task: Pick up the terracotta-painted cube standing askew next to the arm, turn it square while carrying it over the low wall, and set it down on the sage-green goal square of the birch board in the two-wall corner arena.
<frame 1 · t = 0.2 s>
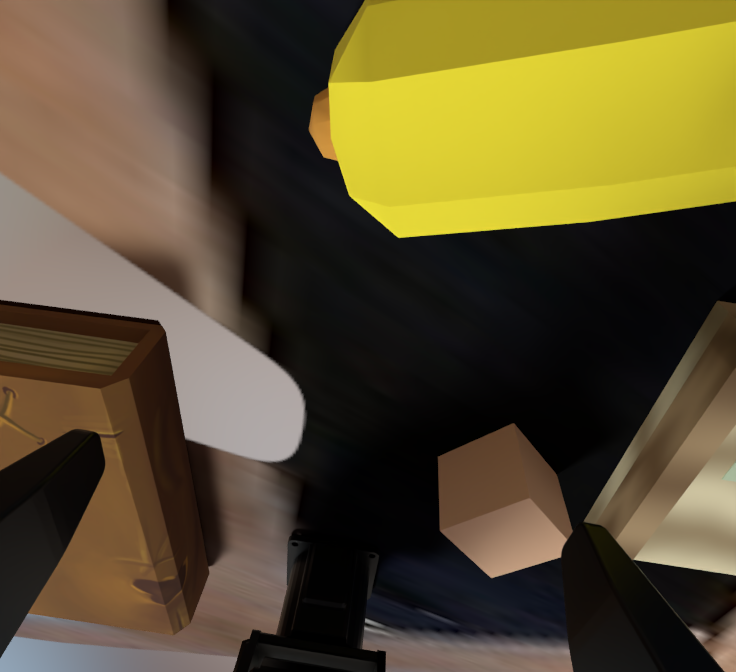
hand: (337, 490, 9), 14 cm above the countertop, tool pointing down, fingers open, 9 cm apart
diary: (62, 445, 33), on the countertop
faceted yellow capsule: (557, 81, 18), on the countertop
cube: (496, 464, 29), on the countertop
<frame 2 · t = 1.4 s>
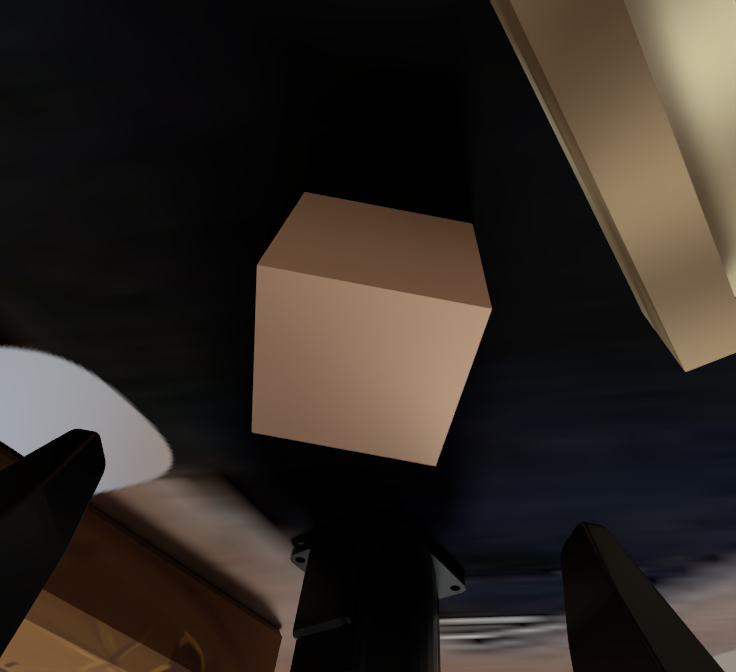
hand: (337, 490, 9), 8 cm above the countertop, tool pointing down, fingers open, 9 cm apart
diary: (46, 565, 29), on the countertop
cube: (374, 281, 16), on the countertop
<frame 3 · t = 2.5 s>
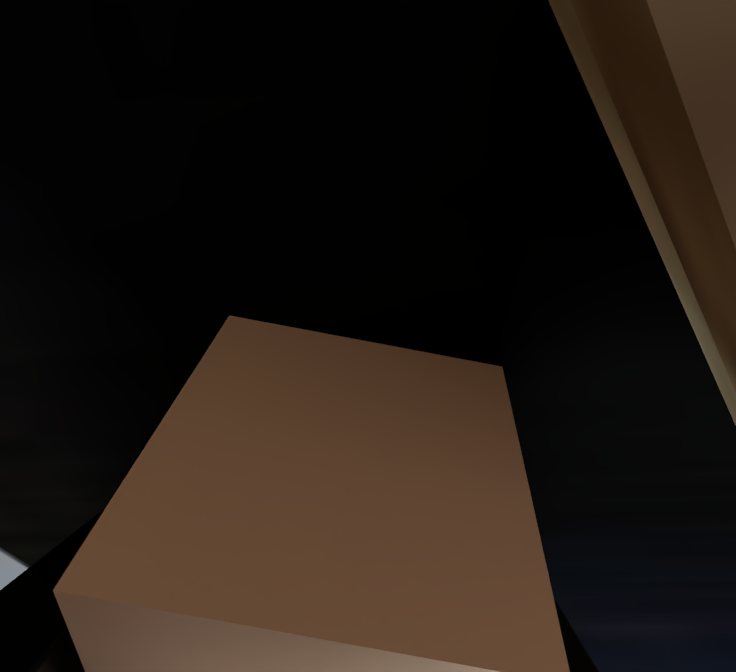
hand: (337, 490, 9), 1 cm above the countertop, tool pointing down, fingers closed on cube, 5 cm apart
cube: (347, 437, 10), on the countertop, touching gripper
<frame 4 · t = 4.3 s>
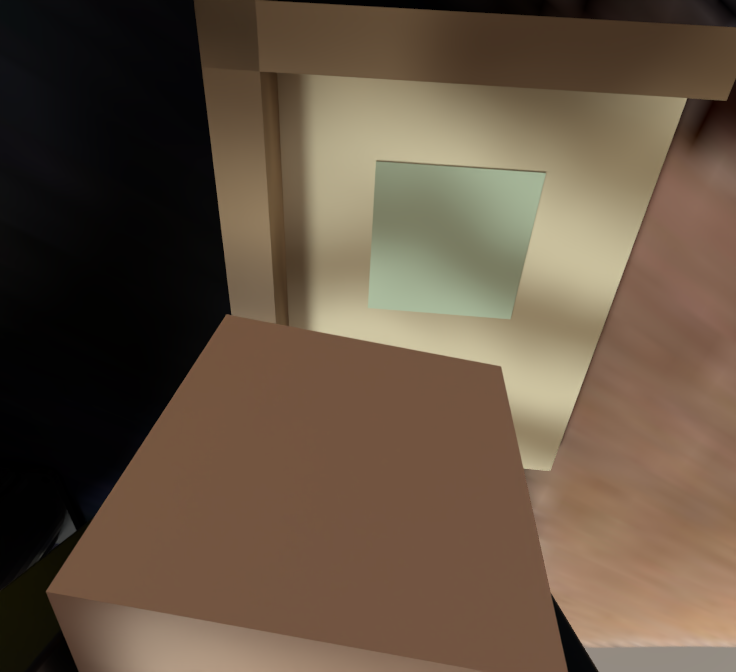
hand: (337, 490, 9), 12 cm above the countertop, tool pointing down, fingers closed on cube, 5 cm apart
arena: (425, 282, 20), on the countertop
cube: (345, 437, 10), point 10 cm above the countertop, touching gripper
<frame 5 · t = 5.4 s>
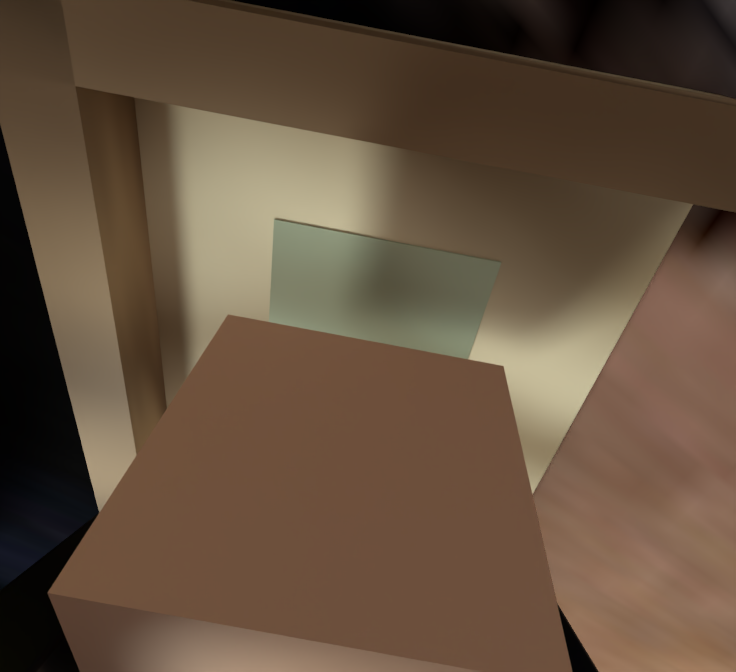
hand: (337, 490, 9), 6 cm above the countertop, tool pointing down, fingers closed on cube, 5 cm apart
arena: (343, 364, 15), on the countertop
cube: (347, 437, 10), point 5 cm above the countertop, touching gripper
when the fingers open (4 cm above the countertop, at t = 6.3 s): cube drops 1 cm, resting on arena.
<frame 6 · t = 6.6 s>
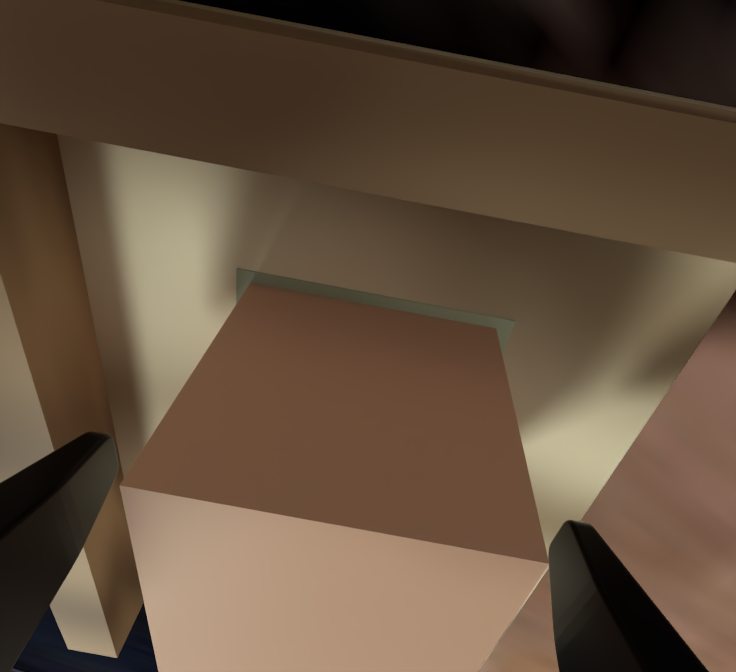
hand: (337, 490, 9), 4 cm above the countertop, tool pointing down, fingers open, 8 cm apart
arena: (328, 425, 13), on the countertop
cube: (355, 398, 11), point 1 cm above the countertop, touching arena
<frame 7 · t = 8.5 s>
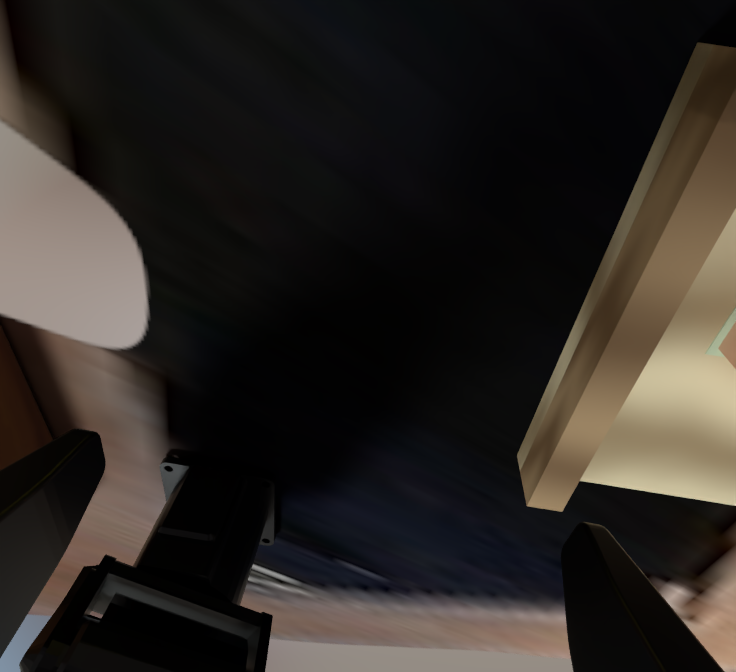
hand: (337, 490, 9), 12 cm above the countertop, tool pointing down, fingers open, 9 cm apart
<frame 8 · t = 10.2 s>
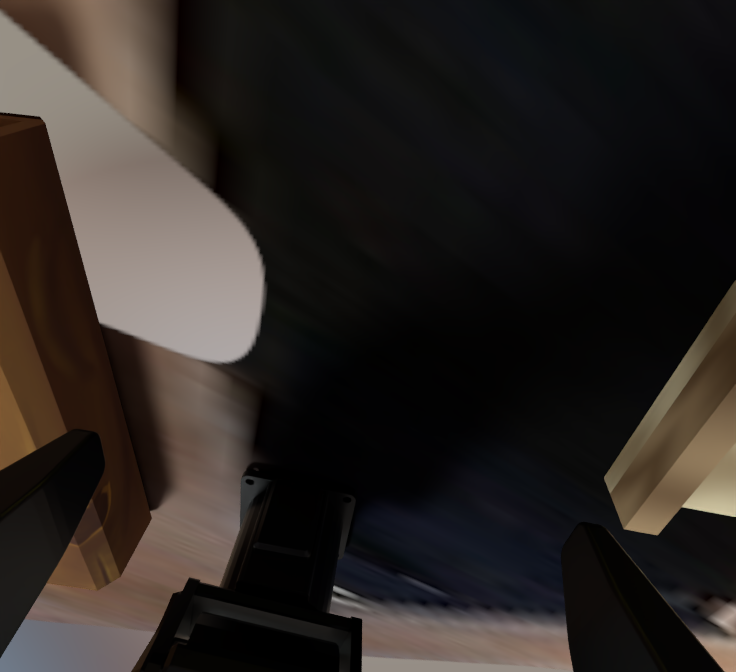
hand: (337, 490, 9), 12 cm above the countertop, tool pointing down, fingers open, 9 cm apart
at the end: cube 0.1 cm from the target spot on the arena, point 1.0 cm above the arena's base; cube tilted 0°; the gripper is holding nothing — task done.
